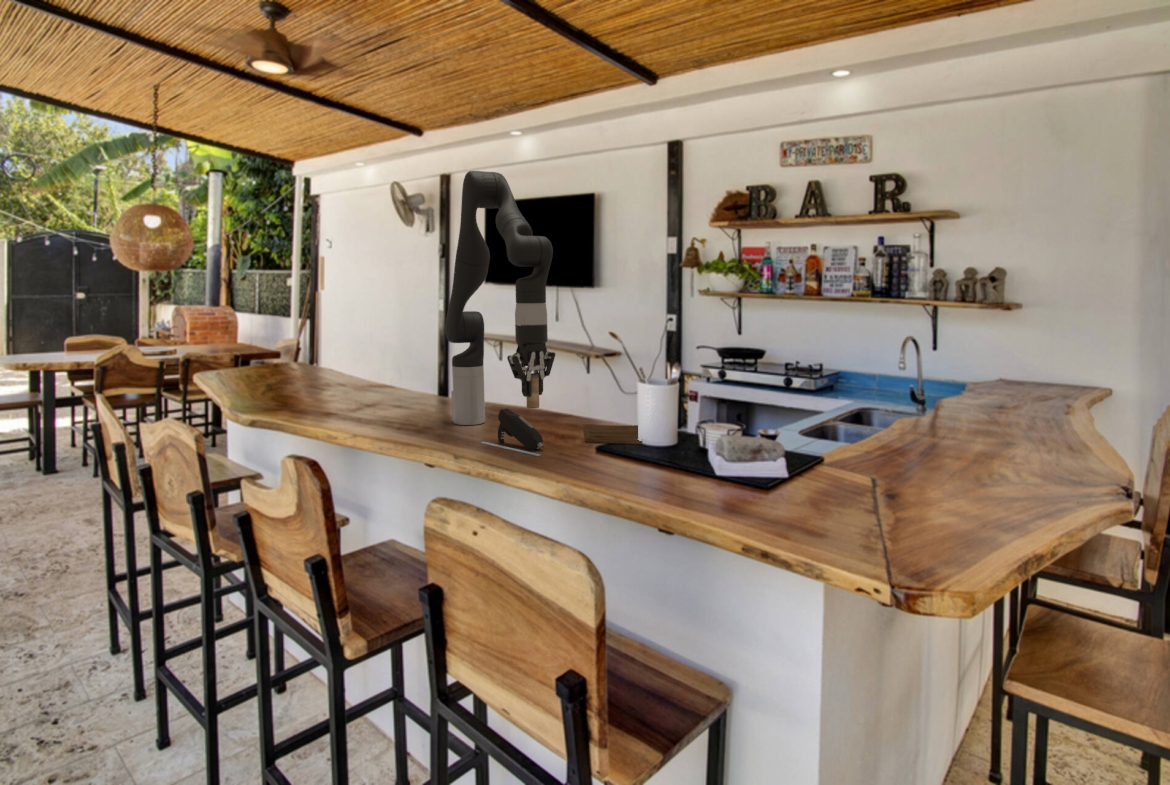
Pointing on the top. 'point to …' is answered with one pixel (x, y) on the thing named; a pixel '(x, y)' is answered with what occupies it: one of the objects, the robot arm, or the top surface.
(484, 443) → the tape line
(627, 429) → the wood plank
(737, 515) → the top surface
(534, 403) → the peg
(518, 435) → the gun
